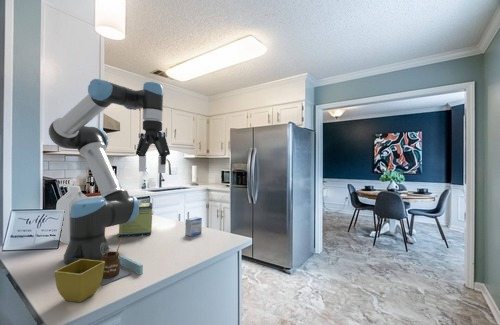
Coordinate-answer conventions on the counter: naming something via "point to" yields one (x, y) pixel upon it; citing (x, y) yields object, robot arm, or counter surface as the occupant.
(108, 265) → the utensil holder
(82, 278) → the flower pot
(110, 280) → the slate pad
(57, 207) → the milk
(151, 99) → the robot arm
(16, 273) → the counter surface
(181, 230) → the counter surface
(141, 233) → the protein box
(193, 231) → the medicine box
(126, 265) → the acrylic wall
